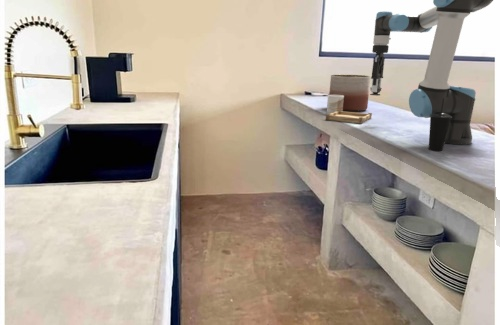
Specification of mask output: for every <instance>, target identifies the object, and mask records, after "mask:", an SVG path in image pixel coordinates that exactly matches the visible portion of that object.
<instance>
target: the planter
mask: <svg viewBox="0 0 500 325" xmlns="http://www.w3.org/2000/svg"><path fill="white" fill-rule="evenodd" d="M329 81H330V83H329V92H328V95H343V96H344V105H343V111H344V112H354V113H360V112H363V111H365V110H367V109H368V105H369V96H370V93H369V92H370V84H371V83H370V82H371V76H370V75H366V74H363V75H361V74H331V75H330V80H329Z"/></svg>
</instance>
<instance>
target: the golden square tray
mask: <svg viewBox="0 0 500 325" xmlns="http://www.w3.org/2000/svg"><path fill="white" fill-rule="evenodd" d="M372 115H373V113H372V112H368V113H364V112H362V113H361V112H345V111H341V110H337V111H336V112H334V113H331V114H328V113H326V114H325V120H326V121H330V122H331V121H332V122H343V123H350V124H360V125H361V124H365V122H367V121H369V120H371V119H372Z"/></svg>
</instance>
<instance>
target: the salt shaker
mask: <svg viewBox="0 0 500 325" xmlns="http://www.w3.org/2000/svg"><path fill="white" fill-rule="evenodd" d="M379 84H380V74H378V86H377V92H372V93H369V96H376V97H377V96H381V94H380V92H382V87H380V85H379ZM371 88H372V86H371V87H370V89H371Z"/></svg>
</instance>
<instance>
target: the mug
mask: <svg viewBox="0 0 500 325" xmlns="http://www.w3.org/2000/svg"><path fill="white" fill-rule="evenodd" d="M326 103H327V105H326V114H331V113H334V112H336V111H337V110H341V111H343V105H344V96H343V95H329V94H328V95H327V102H326Z"/></svg>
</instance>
